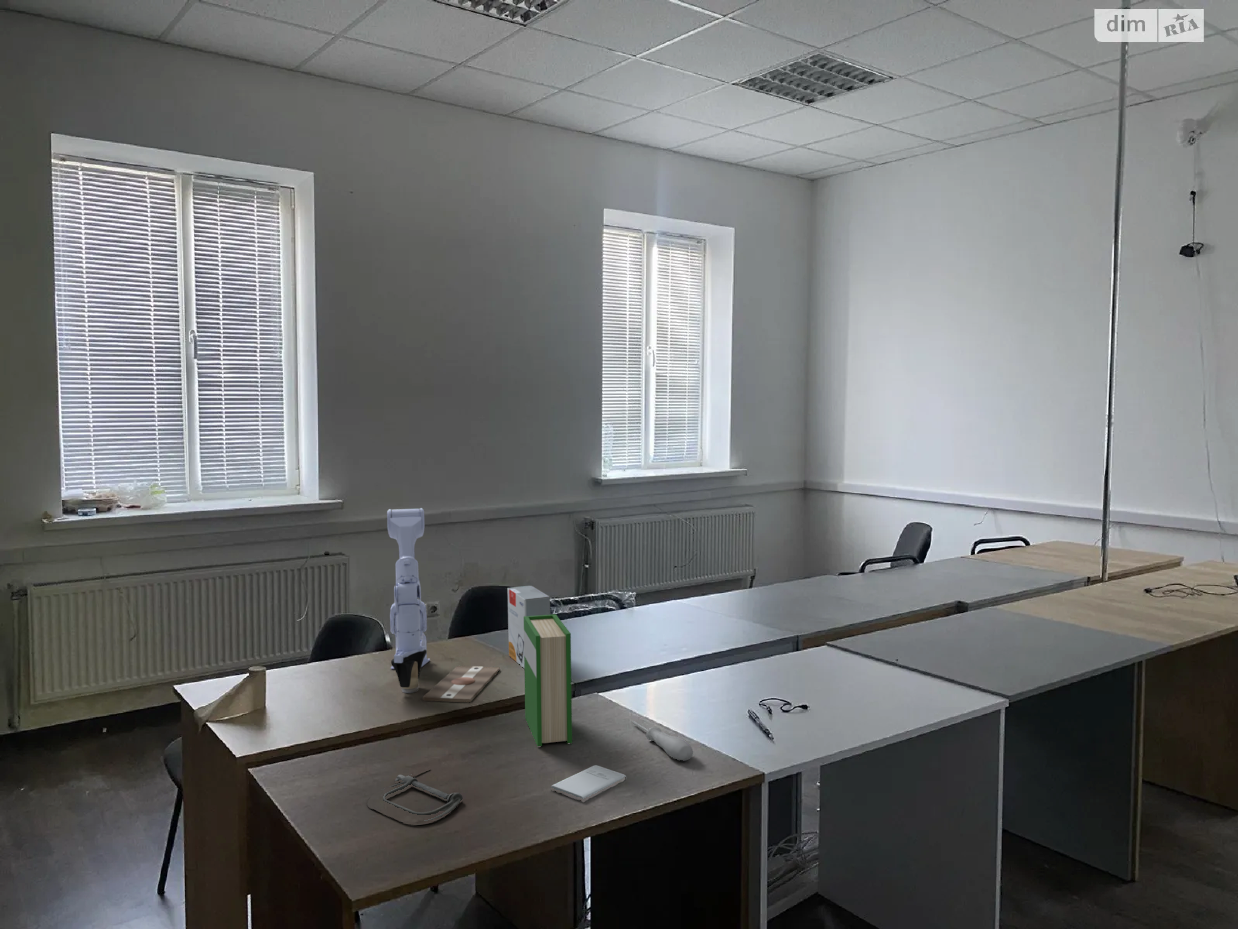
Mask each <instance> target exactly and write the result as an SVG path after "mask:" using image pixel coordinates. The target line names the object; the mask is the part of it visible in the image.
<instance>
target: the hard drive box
mask: <svg viewBox="0 0 1238 929" xmlns="http://www.w3.org/2000/svg"><path fill="white" fill-rule="evenodd" d="M537 615H551V597H550V596H549V595H548V594H546V593H544V592H543V591H541V590H539V589H538V588H536V587H534V586H533V585H525V586H524V585H523V586H515V587H512V586H511V587H507V624H508V625H507V626H508V627H507V628H508V630H507V631H508V633H507V634H508V636H507V637H508V656H509V657H510V658H511V659H512V660H513V661H515V662H516V663H517V664H518V665H519V664H520V665H519V666H520V667H521V668H522V667H523V669H524V616H537Z"/></svg>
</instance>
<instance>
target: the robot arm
mask: <svg viewBox="0 0 1238 929" xmlns="http://www.w3.org/2000/svg"><path fill="white" fill-rule="evenodd" d="M386 516H387V517H386V521H387V522H386V523H387V524H386V526H387V533H388V536H389V538H391V539H394V540H396V543H397V545H398V554H399V558H398V559H397V560H396V562H395V585H394V587H393V599H394V600H393V601H394V602H393V603H392V604H391V607H390V612H389V620H390V621H389V626H390V627H389V628H390V633H391V634H392V635H394V637H395V654H394V655H393V658H392V659H391V660H390V661H391V662H390V663H391V664H390V665H391V666H390V670H394V671H395V673H396V675H397V679H398V683H399V686H400V688H402V687H407V688H408V687H409V686H410V681H411V672H412V667H413V665H414V662H415V661H416V662H417V663H418V680H420V676H421V670H422V667H423V666H425V665H426V664H427V663H428V662H430V661H431V658H427V657H428V655H427V654H428V653H427V652H428V650H427V637H426V635H425V632H426V631H427V630H428V623H427V622H428V620H427V619H428V618H427V605H426V603H425V602H424V601H422V587H421V582H420V574H419V562H418V560H417V559H416V558H415V553H416V552H415V545H416V542H417V539H420V538H422V537H423V536H424V534H425V510H424V509H423V508H422V507H420V508H401V509H400V508H398V509H397V508H395V509H392V508H389V509H388V510H387V511H386Z"/></svg>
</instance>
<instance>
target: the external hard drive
mask: <svg viewBox="0 0 1238 929" xmlns="http://www.w3.org/2000/svg"><path fill="white" fill-rule="evenodd" d="M624 777H626V778H627V775H625V774H624V773H621V772H618V771H614V770H612V769H609V768H606V767H603V766H601V765H597V764H595V765H594V764H593V765H592V766H590V767H588V768H586V769H583V770H582V771H580V772H578V773H575V774H573V775H571V776H569V777H567V778H565V779H563V780H560V781H559V782H556V783H554V784H552V785H551V786H550V788H551V787H552V788H554V789H556V790H560V791H563V792H566V793H568V794H572V795H574V796H576V797H580V798H582V799H584V798H586V797H589V796H591V795H592V794H595V793H597V792H598V791H600V790H602V789H604V788H606V787H608V786H610V785H612V784H614V783H615V782H617V781H619V780H621V779H623V778H624Z"/></svg>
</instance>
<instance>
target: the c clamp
mask: <svg viewBox="0 0 1238 929" xmlns="http://www.w3.org/2000/svg"><path fill="white" fill-rule="evenodd" d="M399 780H402V781H403V782H401V783H398V784H396V783H394V784H393V785H390V786H388V787H394V786H397V785H400V784H404V785H402V786H400V787H398V788H395V789H393V790H391V791H389V792H387V793H385V794H384V796H383V801H385V802H387V803H389V804H392V805H394V806H395V807H397V808H401V809H403V810H404V811H408V812H409V813H412V814H417V815H431V814H436V813H438V812H439V811H445V812H443V813H442V814H440V815H438V816H436V817H434V818H431V819H428V820H433V819H435V818H439V817H442V816H443V815H444V814H447V813H449V812H450V811H452V810H453V809H454V808H456V806H457V805H458V804H459V803H460V801H461V800H462V799H463V795H462V794H461V793H459V792H452V793H450V794H449V793H446V792H444V791H442V790H439V789H437V788H434V787H432V786H430V785H427V784H425V783H422V782H419V781H418V779H417V778H416V777H414V778H413V777H411V776H409V775H406V776H405V775H403V774H398V775H397V776H396V778H395V779H394V782H395V781H399ZM411 784H412V785H413V786H415V787H419V788H422V789H423V790H427V791H429V792H430V793H432V794H436V795H438V796H439V797H443V798H444V799H447V802H446V803H445V804H444V805H442V806H440V807H438V808H435V809H433V810H429V811H423V812H420V811H414V810H412V809H410V808H406V807H405V806H403V805H399V804H397V803H395V802H393V801H390V800H389V799H388V800H386V798H385V797H386V796H387V795H388V794H391V793H394V792H396V791H398V790H402V789H404V788H405V787H407V786H408V785H411ZM384 789H385V788H382V789H381V790H384ZM460 804H461V803H460ZM460 804H459V805H460ZM459 805H458V806H459ZM458 806H457V807H458ZM456 809H457V808H456ZM428 820H424V821H428Z"/></svg>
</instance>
